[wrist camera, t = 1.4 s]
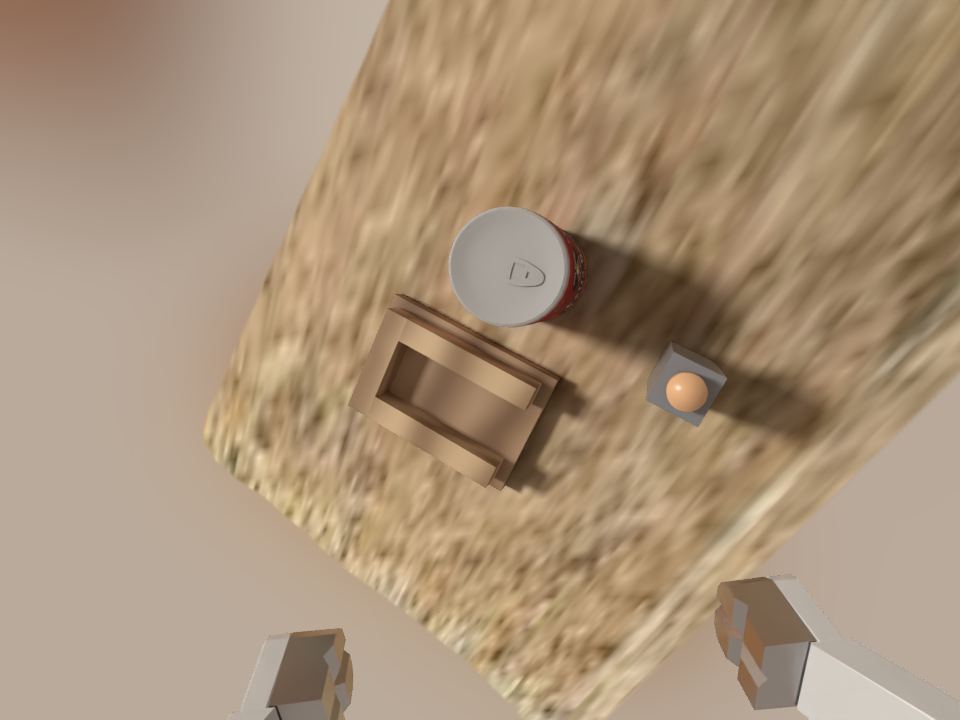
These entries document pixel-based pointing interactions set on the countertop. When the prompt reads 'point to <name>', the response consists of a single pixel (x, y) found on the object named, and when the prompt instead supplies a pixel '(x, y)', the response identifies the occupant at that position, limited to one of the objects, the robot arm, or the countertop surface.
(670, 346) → the block with orange ball
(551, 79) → the countertop surface
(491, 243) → the canned food
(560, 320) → the countertop surface
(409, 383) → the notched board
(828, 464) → the countertop surface
